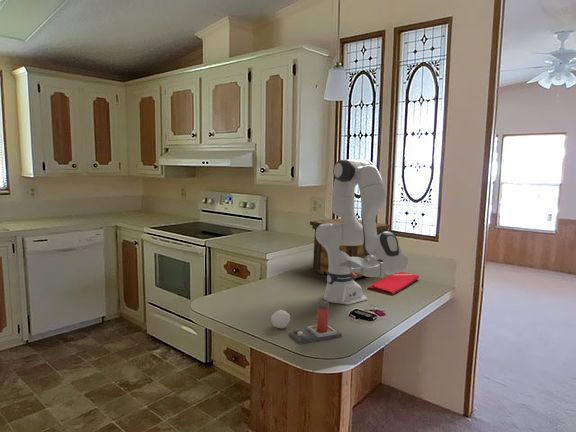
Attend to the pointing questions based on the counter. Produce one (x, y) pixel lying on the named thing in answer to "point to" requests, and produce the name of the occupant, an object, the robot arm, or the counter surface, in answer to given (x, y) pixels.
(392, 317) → the counter surface
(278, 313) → the white swirled ball
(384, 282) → the red flat block
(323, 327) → the red cylinder with cap
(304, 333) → the control panel
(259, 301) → the counter surface
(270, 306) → the counter surface
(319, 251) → the crate
